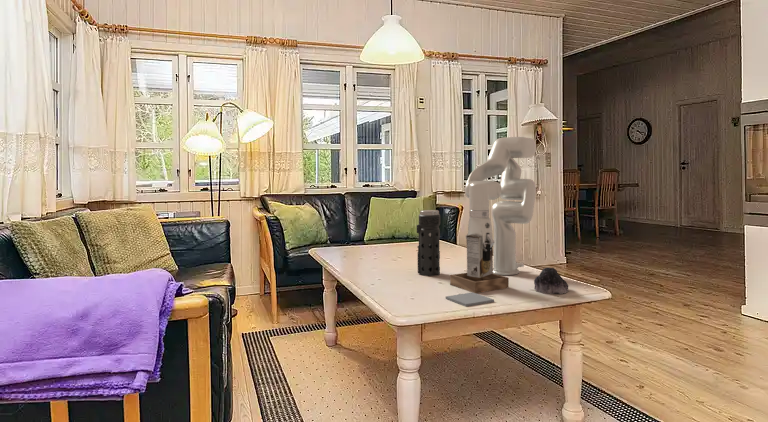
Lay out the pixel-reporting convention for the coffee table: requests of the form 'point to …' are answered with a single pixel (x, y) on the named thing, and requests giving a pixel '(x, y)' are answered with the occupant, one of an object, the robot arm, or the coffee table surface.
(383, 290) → the coffee table surface
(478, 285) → the corral
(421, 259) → the muzzle brake
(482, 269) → the coffee box
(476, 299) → the mat
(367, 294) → the coffee table surface
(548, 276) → the crystal cluster
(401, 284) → the coffee table surface
